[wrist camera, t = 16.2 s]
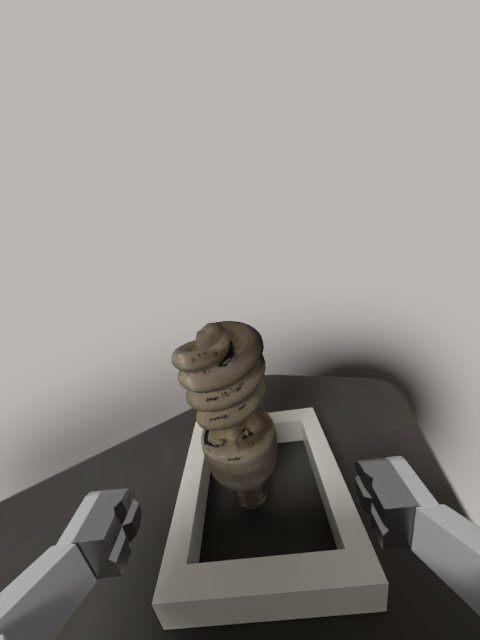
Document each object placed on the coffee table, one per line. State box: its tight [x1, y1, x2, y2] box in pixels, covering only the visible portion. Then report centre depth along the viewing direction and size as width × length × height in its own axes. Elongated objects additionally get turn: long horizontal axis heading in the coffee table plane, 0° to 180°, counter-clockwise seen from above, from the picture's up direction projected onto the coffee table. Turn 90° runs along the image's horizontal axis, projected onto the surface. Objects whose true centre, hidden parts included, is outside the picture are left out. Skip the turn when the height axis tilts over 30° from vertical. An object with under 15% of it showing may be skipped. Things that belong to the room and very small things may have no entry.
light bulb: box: [172, 321, 278, 509], centre depth 17 cm, size 6×6×15 cm
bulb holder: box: [152, 407, 389, 630], centre depth 19 cm, size 12×13×2 cm
